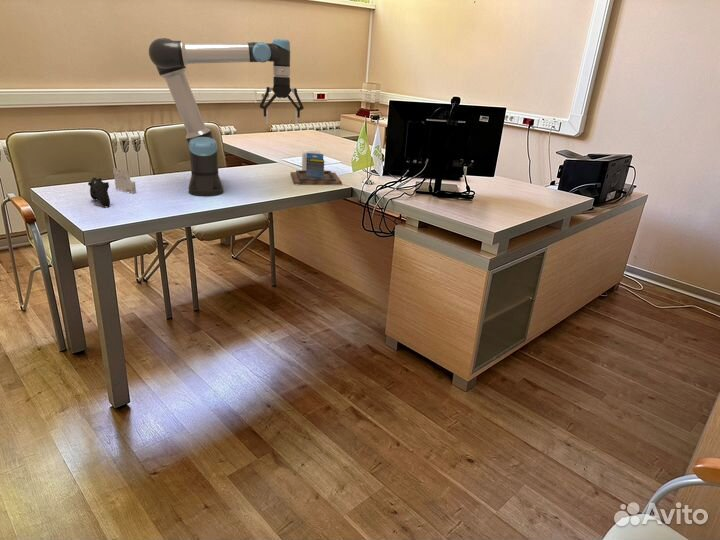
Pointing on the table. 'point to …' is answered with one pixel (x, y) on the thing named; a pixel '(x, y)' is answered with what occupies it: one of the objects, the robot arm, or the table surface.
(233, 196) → the table surface
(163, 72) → the robot arm
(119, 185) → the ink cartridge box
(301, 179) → the stand
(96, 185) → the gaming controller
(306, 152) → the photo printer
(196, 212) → the table surface
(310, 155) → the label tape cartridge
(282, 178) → the table surface
